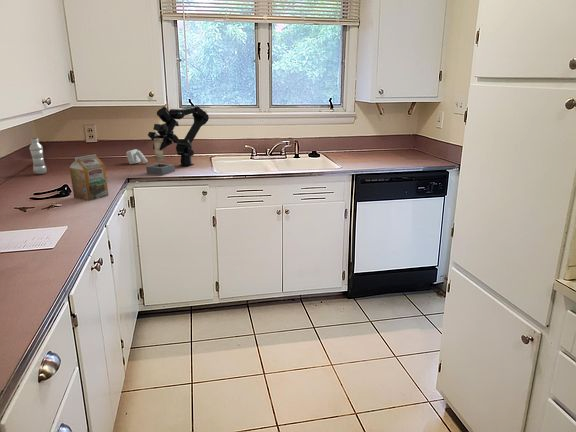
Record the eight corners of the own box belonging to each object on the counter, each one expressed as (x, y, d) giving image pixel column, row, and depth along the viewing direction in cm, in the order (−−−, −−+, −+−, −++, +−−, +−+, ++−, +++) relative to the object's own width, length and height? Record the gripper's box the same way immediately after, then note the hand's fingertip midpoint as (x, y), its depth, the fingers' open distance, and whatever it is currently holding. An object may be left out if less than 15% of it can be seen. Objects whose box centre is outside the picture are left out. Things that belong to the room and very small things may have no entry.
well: (159, 169, 264) (158, 163, 263) (174, 171, 260) (174, 164, 259) (146, 173, 254) (146, 166, 253) (162, 175, 250) (162, 168, 249)
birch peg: (156, 159, 257) (154, 138, 253) (164, 159, 257) (162, 138, 253) (154, 161, 253) (152, 139, 249) (162, 161, 253) (160, 139, 249)
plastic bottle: (50, 173, 254) (44, 137, 248) (39, 175, 248) (33, 139, 242) (42, 172, 257) (36, 137, 251) (31, 174, 251) (25, 138, 245)
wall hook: (145, 164, 276) (140, 148, 274) (130, 167, 279) (125, 152, 276) (151, 162, 284) (146, 146, 281) (137, 165, 286) (132, 149, 284)
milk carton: (88, 201, 200) (82, 158, 195) (74, 197, 206) (67, 156, 200) (108, 195, 209) (103, 155, 203) (94, 192, 214) (88, 153, 208)
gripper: (148, 117, 255) (135, 139, 249) (173, 119, 247) (161, 141, 241) (159, 129, 264) (147, 151, 258) (184, 131, 256) (172, 154, 250)
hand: (156, 149), depth 252 cm, fingers closed on birch peg, 4 cm apart
